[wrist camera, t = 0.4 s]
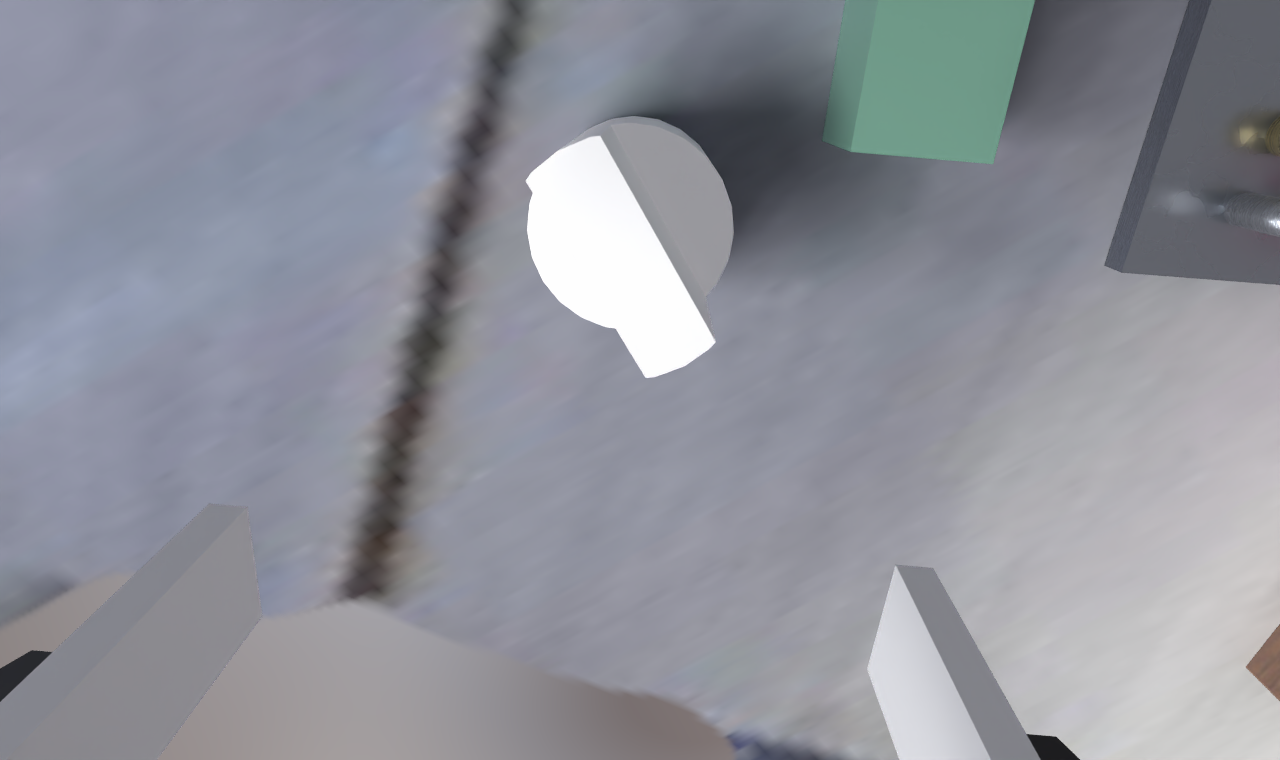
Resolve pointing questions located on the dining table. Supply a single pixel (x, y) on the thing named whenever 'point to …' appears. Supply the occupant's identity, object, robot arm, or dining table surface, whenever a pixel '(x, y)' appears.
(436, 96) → the dining table surface
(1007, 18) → the mint green rectangular block
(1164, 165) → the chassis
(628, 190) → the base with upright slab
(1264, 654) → the tissue box cover
